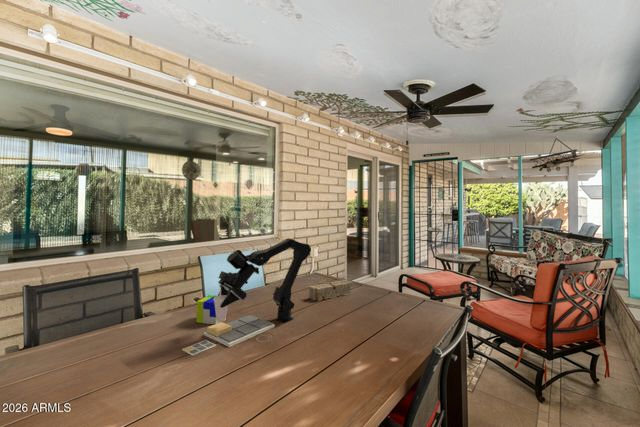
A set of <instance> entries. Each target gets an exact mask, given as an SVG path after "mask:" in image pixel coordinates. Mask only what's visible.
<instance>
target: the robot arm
mask: <svg viewBox="0 0 640 427" xmlns="http://www.w3.org/2000/svg"><path fill="white" fill-rule="evenodd" d="M289 249H292V250H293V252H292V254H293V255H292V256H293V259H292V261H291V263H290V266H289V268H288V270H287V273H286V275H285V277H284V280H283V282H282V284H281V286H279V287H278V286H276V287H275V290H274V292H273V294H272V295H273V297H272V300H273V302H274V303H275V304H276V306H277V317H276V318H275V320H276V321H279V322H282V323H288V322H290V321H292V320H294V317H292V309H294V307H295V302H293V301H292V300H291V298H292V288H293V285H294V282H295V280H296V278H297V276H298V275H299V274H298V273H299V270H300V268H301V266H302V264H303V262H304V261H305V260H306V259H307V258H308V257H309V255H310V253H311V251H312V248H311V246H310V244H308V243H304V242H299V241H297V240H295V239H293V238H285V239H284V240H282V241H281V242H278V243H276V244H274V245H272V246H270V247H268V248H265V249H260V250H256V251H252V252H251V253H250V254H246V255H245V254H244V253H243V252H242V251H241V249H236V250H235V251H233V252H231V253H230V254H229V255H228V256H227V259H226V261H227V263H229V264H230V265H231V266H232V267H233V268H234V269H235V270H238V271H237V272H231V271H229V272H227V271H226V272H225V271H222V270H221V271H220V272H219V276H218V279H220V280H219V281H217V283H218V284H219V288H220V287H221V295H227V297H226V298H225V300H224V301H223V302H222V304H221V306H220V307H221V308H223V307H225V306H227V305H228V306H229V305H230V304H233V303H235V302H236V301H240V300H242V301H245V299H246V298H247V292H246V291H245V290H243V289H242V288H243V287H244V286H245V285H247V284H248V283H249V282H248V281H249V279H251V277H252V275H253V274H257V275H259V274H260V271H259V269H260V268H259V267H261V266H264V265H265V264H266V263H268V262H269V260H270V259H271V258H273V257H275V256H277V255H279V254H280V253H281V254H282V252H285V251H287V250H289ZM257 266H258V267H257ZM217 296H220V291H219V292H218V294H217Z"/></svg>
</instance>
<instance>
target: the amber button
mask: <svg viewBox="0 0 640 427" xmlns="http://www.w3.org/2000/svg"><path fill="white" fill-rule="evenodd" d="M206 330H207V331H206V332H208V333H210V334H212V335H214V336H216V337H219V335H222V334H224V333H227V332H229V331H232V326H230V325H228V324H226V323H225V322H224V321H222V322H219V323H217V324H211V325H210V326H207V328H206Z"/></svg>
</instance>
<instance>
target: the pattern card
mask: <svg viewBox="0 0 640 427" xmlns="http://www.w3.org/2000/svg"><path fill="white" fill-rule="evenodd" d="M216 346H217V344H215V343H212V342H210V341H209V340H207V339H205V340H202V341H199V342H197V343H194V344H192V345H190V346H187V347H184V348H182V349H181V350H182V351H183V352H184V353H187V354H189V355H190V356H192V357H193V356H196V355H198V354H200V353H202V352H204V351H205V352H206V351H207V350H209V349H211V348H214V347H216Z"/></svg>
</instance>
